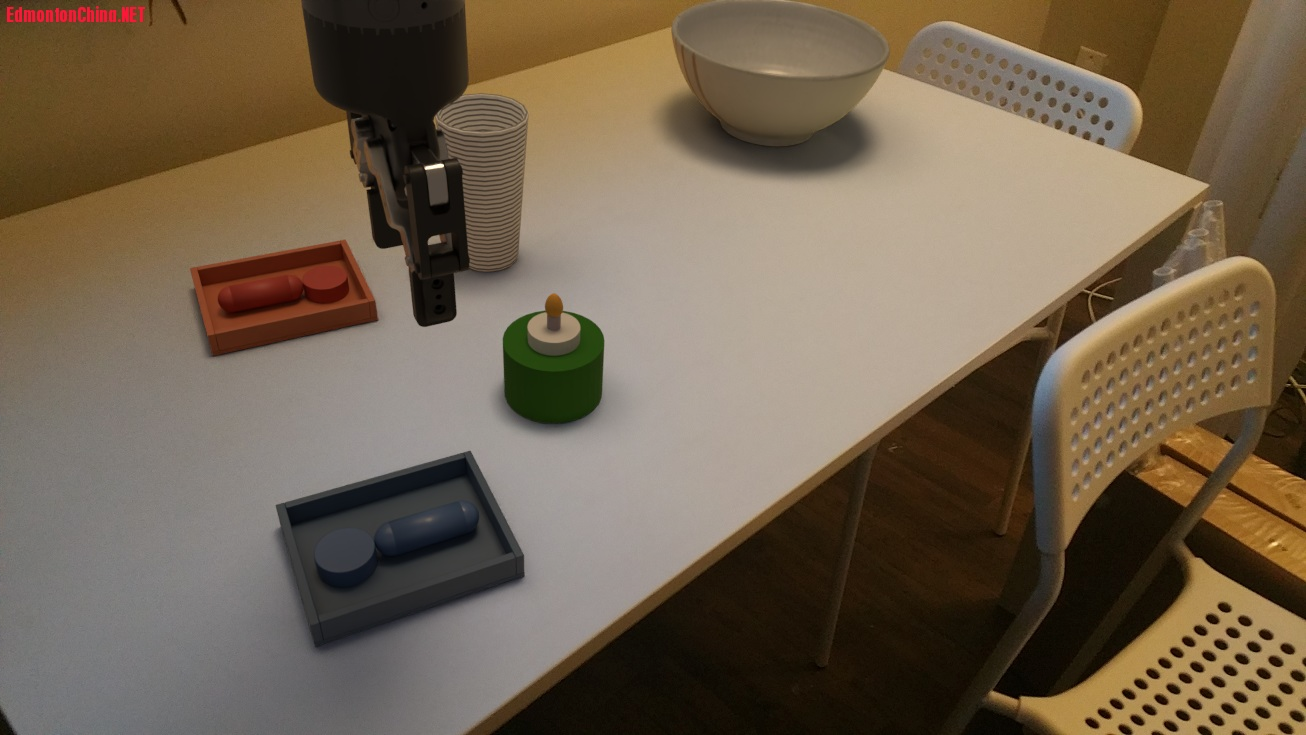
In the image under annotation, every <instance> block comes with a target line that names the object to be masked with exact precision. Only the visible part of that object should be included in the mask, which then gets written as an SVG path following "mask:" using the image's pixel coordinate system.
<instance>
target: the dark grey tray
mask: <svg viewBox="0 0 1306 735" xmlns="http://www.w3.org/2000/svg"><path fill="white" fill-rule="evenodd" d="M461 500H465V501H469V502H471V503H472V504H474V505H475V506H476V508H477V509H478V512H479V522H478V525H477V526H476V528H475V529H474V530H473V531H471V532H470V533H467V534H464V535H461V536H458V537H455V538H452V539H448V540H445V541H442V542H439V543H436V544H432V545H429V546H426V547H423V548H420V549H416V550H413V551H410V552H407V553H403V554H400V555H397V556H386V555H383V554H382V553H380V552H379V551H378V550H377V548H376V552H377V560H378V561H377V566H376V568H375V570H374V572H373V573H372V575H371V576H370V577H369V578H367V579H366V580H365V581H363V582H361V583H359V584H357V585H354V586H350V587H334V586H331V585H328V584H327V583H325V582H324V581H322V580H321V578H320V577H319V575H318V573H317V569H316V564H315V560H314V550H315V547H316V545H317V543H318V542H319V541H320V540H321V538H323V537H324V536H325V535H326V534H328V533H330V532H332V531H334V530H337V529H341V528H348V527H351V528H358V529H362V530H364V531H366V532H367V533H369V534H370V535H371V536H372V538H373V539H374V536H375V533H376V531H377V529H378V528H379V527H380V526H381V525H382V524H384V523H386V522H389V521H392V520H396V519H399V518H403V517H406V516H409V515H413V514H416V513H419V512H423V511H426V510H429V509H433V508H436V507H440V506H443V505H446V504H450V503H453V502H456V501H461ZM275 509H276V513H277V517H278V522H279V525H280V529H281V532H282V537H283V539H284V543H285V546H286V550H287V554H288V557H289V560H290V564H291V568H292V571H293V574H294V578H295V581H296V585H297V588H298V592H299V595H300V599H301V603H302V606H303V610H304V613H305V616H306V620H307V624H308V627H309V631H310V635H311V638H312V641H313V645H314V647H319V646H322V645H324V644H328V643H331V642H333V641H336V640H340V639H342V638H343V639H344V638H346V637H348V636H351V635H354V634H357V633H360V632H363V631H366V630H369V629H372V628H375V627H377V626H381V625H384V624H387V623H390V622H393V621H396V620H398V619H399V620H400V619H401V618H405V617H408V616H410V615H413V614H417V613H418V612H422V611H425V610H428V609H430V608H433V607H437V606H440V605H442V604H446V603H448V602H452V601H454V600H457V599H460V598H463V597H466V596H469V595H472V594H475V593H478V592H481V591H484V590H487V589H490V588H492V587H496V586H498V585H501V584H504V583H508V582H511V581H513V580H516V579H519V578H522V577H525V575H526V574H525V573H526V572H525V553H524V552H523V549H522V548H521V546H520V544H519V542H518V540H517V538H516V536H515V534H514V532H513V531H512V529H511V526H510V525H509V523H508V520H507V519H506V517H505V515H504V513H503V511H502V510H501V508H500V505H499V504H498V501H497V499H496V497H495V495H494V494H493V491H492V489H491V487H490V486H489V484H488V482H487V480H486V478H485V476H484V474H483V472H482V470H481V468H480V466H479V464H478V463H477V461H476V459H475V456H474V454H473V453H472V451H471V450H467V451H464V452H460V453H457V454H453V455H449V456H446V457H442V458H438V459H435V460H432V461H431V460H430V461H428V462H424V463H421V464H417V465H414V466H410V467H406V468H403V469H399V470H396V471H392V472H388V473H385V474H380V475H377V476H374V477H371V478H367V479H364V480H359V481H356V482H351V483H349V484H346V485H342V486H338V487H335V488H332V489H331V488H330V489H328V490H324V491H321V492H317V493H313V494H309V495H306V496H302V497H299V498H295V499H292V500H289V501H285V502H281V503H277V504H275Z"/></svg>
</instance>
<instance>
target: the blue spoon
mask: <svg viewBox="0 0 1306 735" xmlns="http://www.w3.org/2000/svg"><path fill="white" fill-rule="evenodd" d="M478 522H479V512H478V509H477V508H476V506H475V505H474V504H472V503H471V502H469V501H465V500H461V501H456V502H453V503H450V504H446V505H443V506H440V507H436V508H433V509H429V510H426V511H423V512H419V513H416V514H413V515H409V516H406V517H403V518H399V519H396V520H392V521H389V522H386V523H384V524H382V525H381V526H380V527H379V528H378V529H377V531H376V533H375V536H374V539H373V538H372V536H371V535H370V534H369V533H367V532H366V531H364V530H362V529H358V528H351V527H348V528H341V529H337V530H334V531H332V532H330V533H328V534H326V535H325V536H324V537H323V538H321V540H320V541H319V542H318V543H317V545H316V547H315V550H314V560H315V564H316V569H317V573H318V575H319V577H320V578H321V580H322V581H324V582H325V583H327V584H328V585H331V586H334V587H350V586H354V585H357V584H359V583H361V582H363V581H365V580H366V579H367V578H369V577H370V576H371V575H372V573H373V572H374V570H375V568H376V566H377V561H378V560H377V552H376V548H377V550H378V551H379V552H380V553H382V554H383V555H386V556H397V555H400V554H403V553H407V552H410V551H413V550H416V549H420V548H423V547H426V546H429V545H432V544H436V543H439V542H442V541H445V540H448V539H452V538H455V537H458V536H461V535H464V534H467V533H470V532H471V531H473V530H474V529H475V528H476V526H477V525H478Z"/></svg>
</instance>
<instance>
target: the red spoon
mask: <svg viewBox="0 0 1306 735" xmlns="http://www.w3.org/2000/svg"><path fill="white" fill-rule="evenodd" d="M302 282H303V283H302ZM303 290H304V292H305V296H306V297H307V298H308V299H309V300H310V301H313V302H316V303H332V302H336V301H339V300H341V299H343V298H344V297H345V296H346V295H347V294H348V292H349V284H348V277H347V273H346V272H345V270H343V269H342V268H340V267H336V266H319V267H316V268H313V269H311V270H309V271H307V272H306V273H305V274H304V275H303V278H302V281H301V280H300V279H299V278H298V277H297V276H294V275H283V276H278V277H273V278H268V279H262V280H257V281H252V282H247V283H242V284H236V285H231V286H227V287H225V288H223V289H222V290H221V291H220V292H219V294H218V303H219V305H220V307H221V308H222V309H223V310H225V311H227V312H239V311H244V310H249V309H254V308H259V307H263V306H268V305H273V304H278V303H283V302H288V301H293V300H296V299H298V298H299V297H300V296H301V295H302V293H303Z"/></svg>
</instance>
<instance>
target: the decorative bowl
mask: <svg viewBox="0 0 1306 735" xmlns="http://www.w3.org/2000/svg"><path fill="white" fill-rule="evenodd" d="M670 29H671V30H670V31H671V40H672V45H673V49H674V54H675V57H676V60H677V63H678V66H679V68H680V72H681V74H682V76H683V78H684V80H685V82H686V84H687V86H688V88H689V89H690V90H691V92H692V94H693V95H694V97H695V98H696V99H697V101H698V102H699V103H700V104H701V105H702V107H704V109H705V110H707V111H708V112H709V113H710V114H711V115H712V116H713V117H715V118H716V119H718V120H719V124H720V126H721V128H722V129H723V130H724V131H725V132H726V133H727V134H729V135H730V136H732V137H734V138H736V139H738V140H740V141H743V142H747V143H748V144H749V143H750V144H754V145H759V146H764V147H765V146H766V147H789V146H795V145H799V144H803V143H804V142H807V141H809V140H810V139H811V138H812V137H813V135H814V134H815V133H816V132H819V131H821V130H823V129H826V128H828V127H830V126H832V125H833V124H835V123H837V122H838V121H840V120H841V119H843V118H844V117H845V116H846V115H848V114H849V113H850V112H851V111H852V110H854V108H856V107H857V106H858V105H859V104H860V102H862V100H863V99H864V98H865V97H866V96H867V94H868V93H869V92H870V90H871V89H872V88H873V87H874V85H875V84H876V82H877V80H878V79H879V78H880V76H881V75H882V72H883V70H884V69H885V66H886V64H887V63H888V60H889V57H890V53H891V47H890V43H889V42H888V40H887V38H886V37H885V35H884V34H882V32H880V31H879V30H878V29H877V28H876V27H874V26H872V25H871V24H869V23H867V22H866V21H864V20H862V19H860V18H858V17H856V16H853V15H851V14H849V13H846V12H843V11H840V10H837V9H834V8H830V7H827V6H823V5H818V4H815V3H809V2H804V1H799V0H798V1H797V0H709V1H704V2H701V3H698V4H695V5H692V6H690V7H687V8H686V9H684V10H683V11H681V12H679V13H678V14H677V15H676V16H675V18H674V19H673V21H672V23H671V28H670Z"/></svg>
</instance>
